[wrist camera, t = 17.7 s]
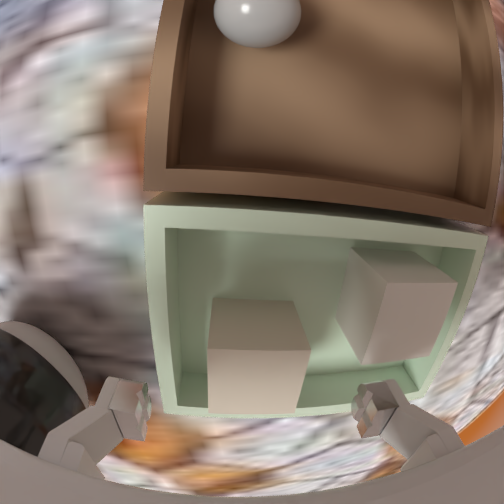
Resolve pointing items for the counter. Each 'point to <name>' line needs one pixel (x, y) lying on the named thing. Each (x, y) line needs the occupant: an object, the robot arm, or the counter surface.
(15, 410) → the black rounded cone
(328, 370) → the green tray
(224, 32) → the round pebble
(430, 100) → the walnut crate
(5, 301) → the counter surface
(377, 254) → the small beige block
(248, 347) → the beige cube
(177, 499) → the robot arm
